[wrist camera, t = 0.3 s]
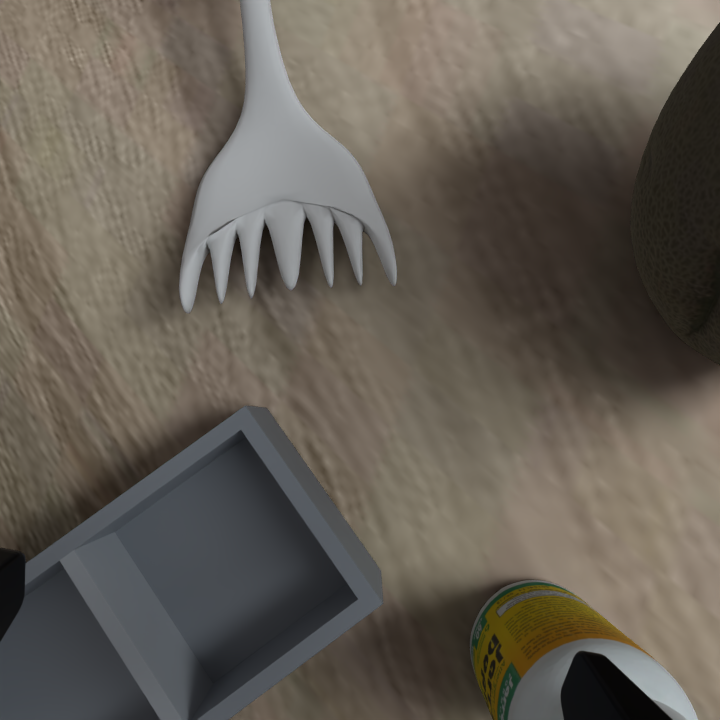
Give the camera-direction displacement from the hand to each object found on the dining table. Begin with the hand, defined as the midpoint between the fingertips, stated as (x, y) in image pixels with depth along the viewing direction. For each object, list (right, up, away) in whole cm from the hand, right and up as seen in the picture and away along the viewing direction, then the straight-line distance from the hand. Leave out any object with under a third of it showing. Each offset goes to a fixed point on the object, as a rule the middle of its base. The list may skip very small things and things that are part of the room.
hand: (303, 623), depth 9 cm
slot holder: (-10, -8, +13) cm, 19 cm away
